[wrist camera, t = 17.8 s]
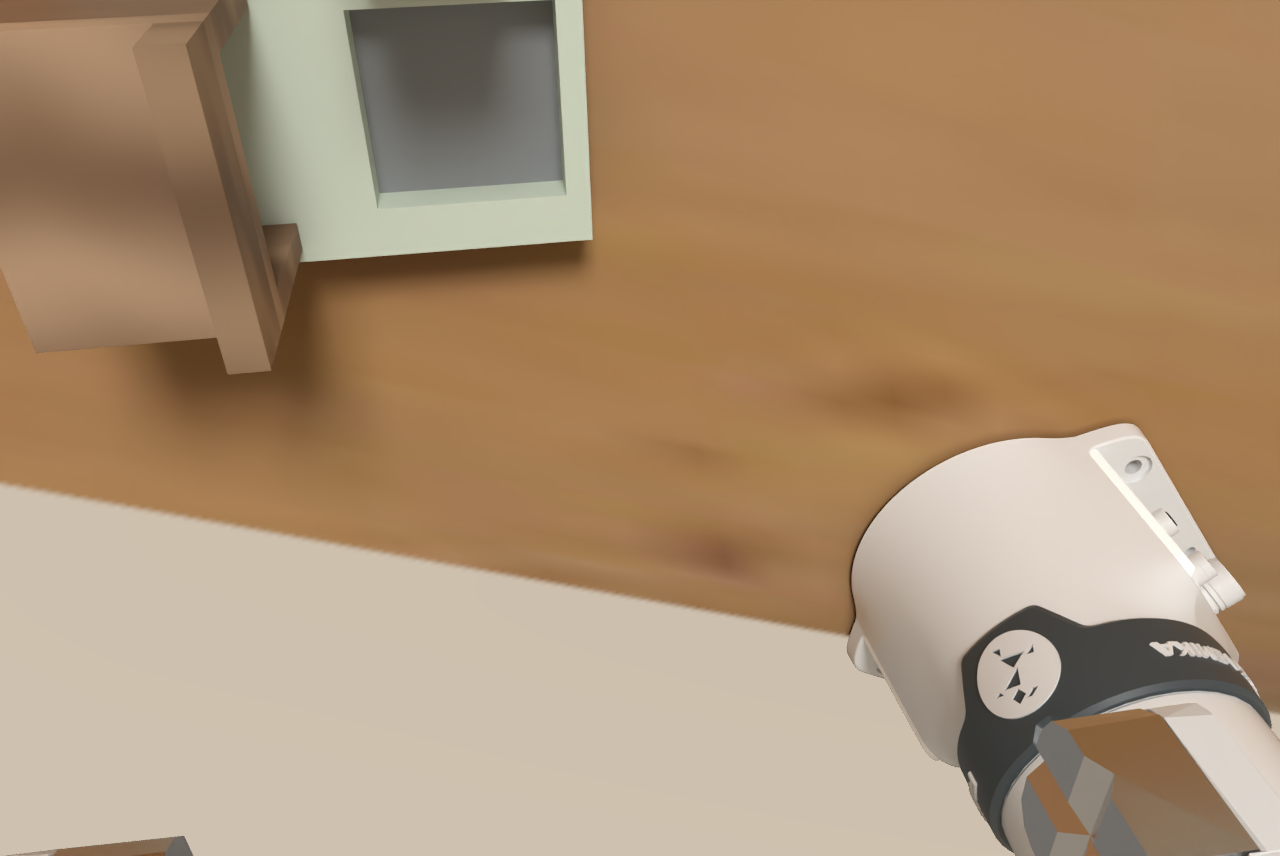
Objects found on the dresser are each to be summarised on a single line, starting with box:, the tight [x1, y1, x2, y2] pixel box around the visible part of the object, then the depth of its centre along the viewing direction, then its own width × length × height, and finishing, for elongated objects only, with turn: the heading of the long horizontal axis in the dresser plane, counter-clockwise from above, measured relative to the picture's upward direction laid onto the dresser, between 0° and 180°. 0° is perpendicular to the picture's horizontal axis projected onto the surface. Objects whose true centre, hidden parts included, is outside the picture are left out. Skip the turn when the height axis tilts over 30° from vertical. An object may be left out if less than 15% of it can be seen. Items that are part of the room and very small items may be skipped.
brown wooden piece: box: [0, 0, 303, 375], centre depth 29 cm, size 9×7×8 cm
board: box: [219, 0, 593, 262], centre depth 32 cm, size 16×15×3 cm
